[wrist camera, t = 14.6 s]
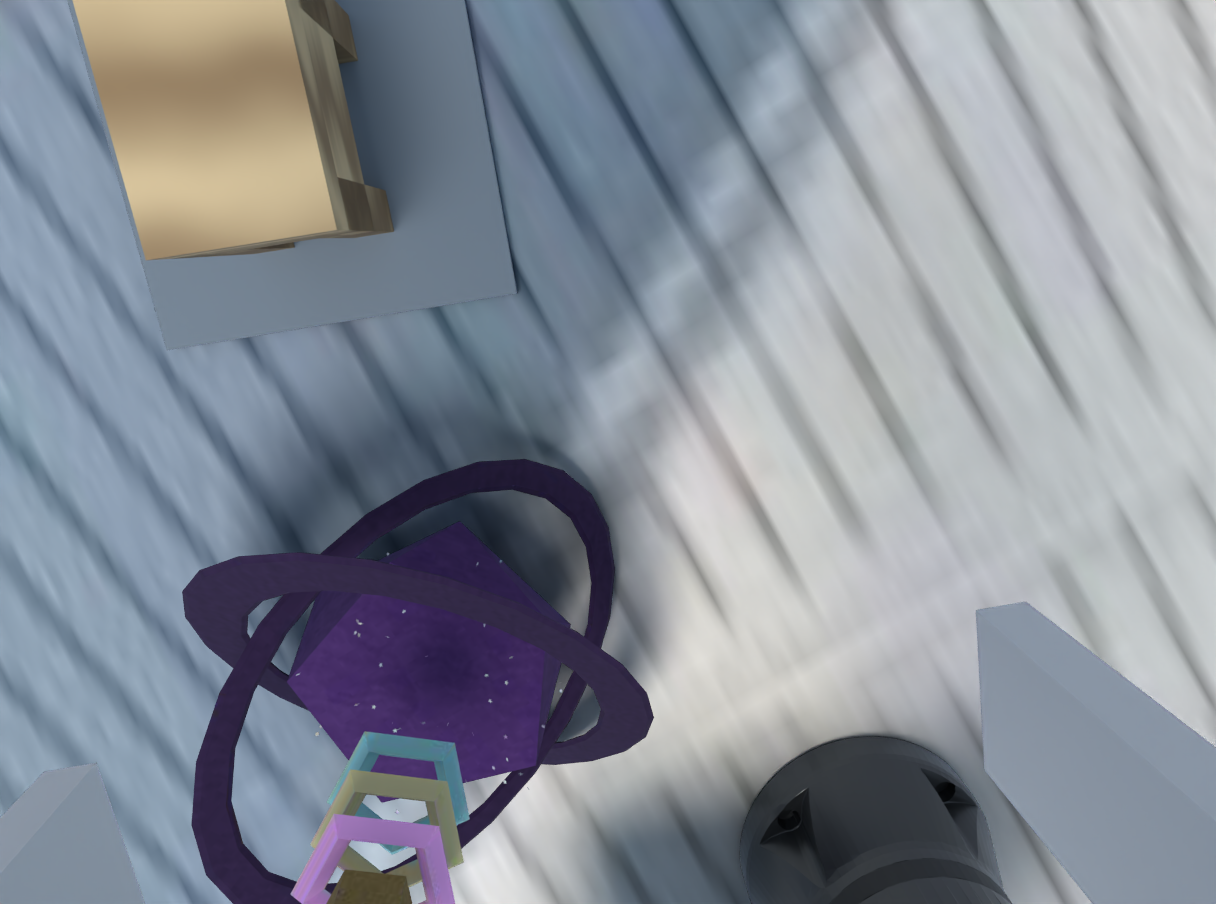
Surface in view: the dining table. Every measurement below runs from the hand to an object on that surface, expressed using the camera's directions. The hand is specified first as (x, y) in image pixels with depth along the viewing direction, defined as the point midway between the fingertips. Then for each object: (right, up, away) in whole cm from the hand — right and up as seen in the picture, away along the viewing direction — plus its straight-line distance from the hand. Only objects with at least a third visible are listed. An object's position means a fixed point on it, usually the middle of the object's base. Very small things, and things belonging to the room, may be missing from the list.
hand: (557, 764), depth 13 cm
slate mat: (-14, +20, +30) cm, 39 cm away
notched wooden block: (-14, +20, +29) cm, 38 cm away
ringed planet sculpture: (-8, -4, +37) cm, 38 cm away
